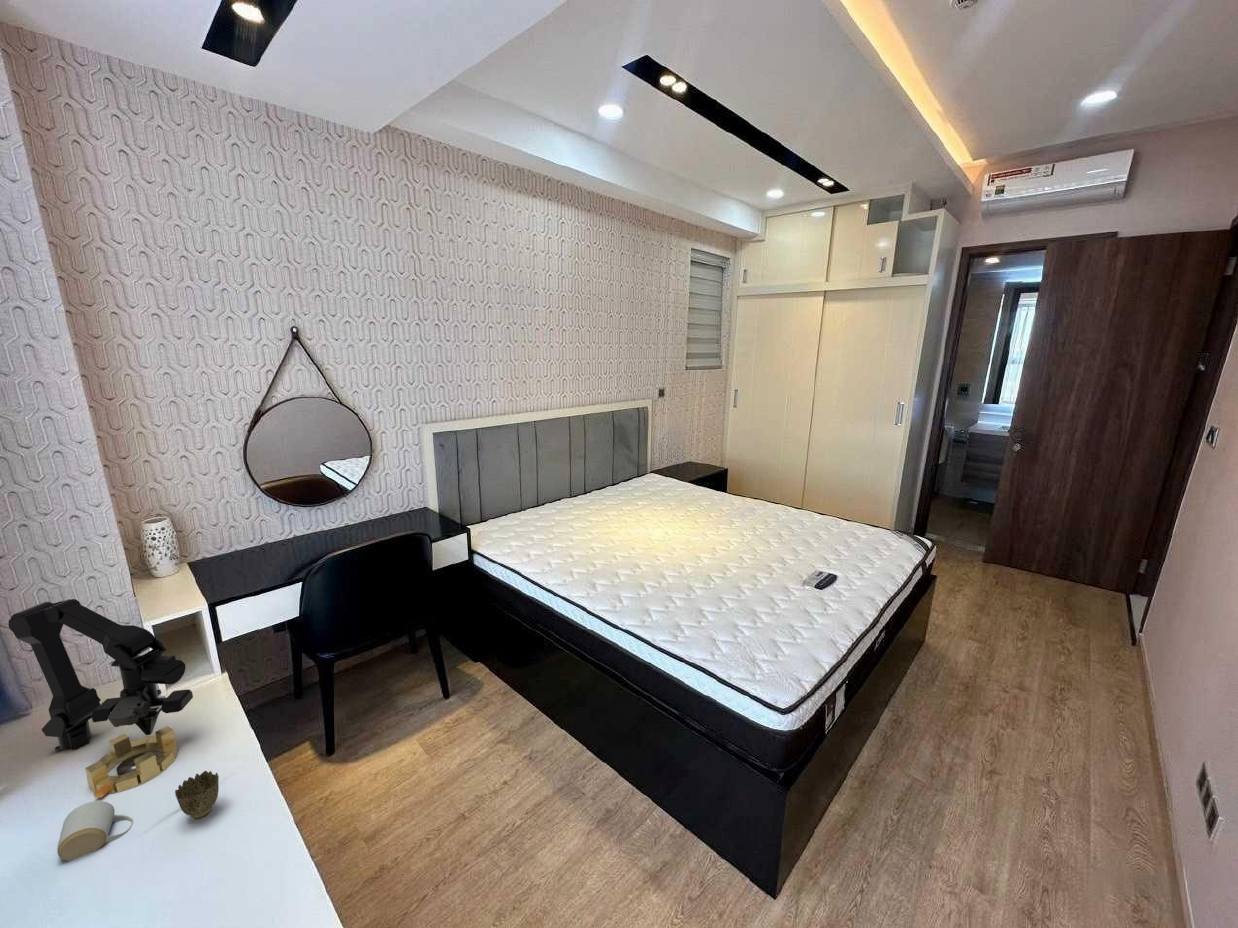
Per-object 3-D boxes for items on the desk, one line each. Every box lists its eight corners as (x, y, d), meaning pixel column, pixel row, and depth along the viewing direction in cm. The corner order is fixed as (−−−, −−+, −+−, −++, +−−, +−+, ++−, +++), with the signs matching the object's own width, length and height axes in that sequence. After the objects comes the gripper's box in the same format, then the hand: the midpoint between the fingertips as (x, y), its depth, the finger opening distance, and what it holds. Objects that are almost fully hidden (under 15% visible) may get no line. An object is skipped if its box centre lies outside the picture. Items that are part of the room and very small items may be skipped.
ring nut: (72, 780, 120) (67, 761, 119) (158, 735, 135) (155, 718, 134) (102, 806, 114) (97, 786, 112) (189, 756, 128) (186, 738, 127)
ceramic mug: (58, 872, 100) (51, 840, 99) (67, 842, 107) (60, 811, 105) (131, 842, 107) (126, 812, 105) (136, 815, 113) (130, 786, 112)
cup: (231, 805, 116) (226, 775, 114) (195, 833, 109) (190, 802, 107) (208, 796, 118) (203, 766, 117) (172, 822, 111) (166, 792, 110)
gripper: (67, 706, 117) (80, 764, 120) (163, 695, 121) (173, 751, 125) (102, 677, 128) (114, 731, 131) (189, 668, 132) (198, 720, 135)
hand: (149, 734), depth 130 cm, fingers closed
